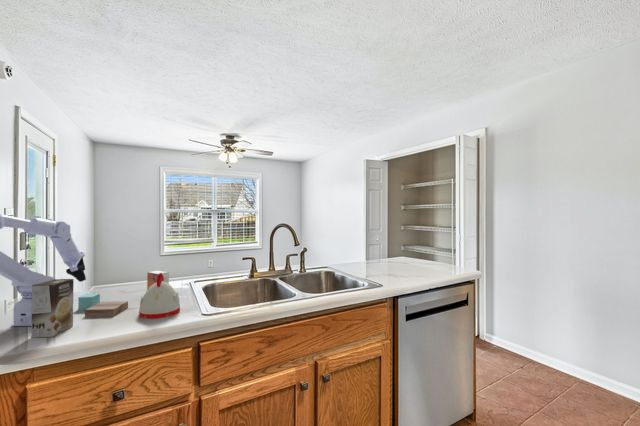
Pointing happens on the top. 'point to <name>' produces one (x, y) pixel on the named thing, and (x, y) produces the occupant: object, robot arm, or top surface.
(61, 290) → the coffee box
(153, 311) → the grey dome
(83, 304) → the teal cube
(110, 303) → the walnut block
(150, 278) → the small box
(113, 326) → the top surface
